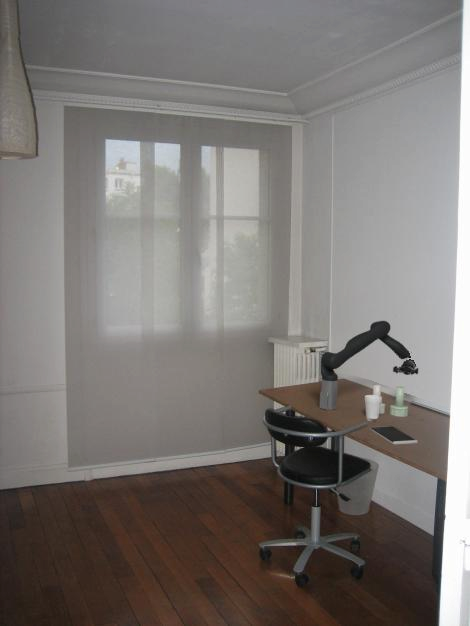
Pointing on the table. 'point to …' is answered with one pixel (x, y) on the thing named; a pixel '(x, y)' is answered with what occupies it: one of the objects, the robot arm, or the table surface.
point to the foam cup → (372, 406)
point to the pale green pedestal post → (399, 404)
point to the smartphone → (393, 435)
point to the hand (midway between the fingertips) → (404, 372)
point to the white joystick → (378, 392)
